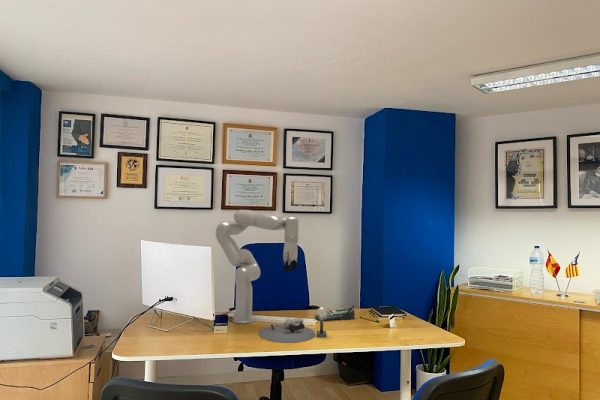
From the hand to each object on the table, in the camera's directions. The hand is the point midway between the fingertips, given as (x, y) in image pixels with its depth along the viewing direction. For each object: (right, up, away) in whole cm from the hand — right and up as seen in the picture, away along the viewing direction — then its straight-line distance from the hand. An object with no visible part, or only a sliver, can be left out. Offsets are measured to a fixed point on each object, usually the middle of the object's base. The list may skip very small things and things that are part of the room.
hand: (290, 270), depth 221 cm
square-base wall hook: (+16, -32, -12) cm, 38 cm away
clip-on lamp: (-2, -32, -3) cm, 32 cm away
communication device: (+25, -33, +23) cm, 48 cm away
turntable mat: (-2, -31, -8) cm, 33 cm away
